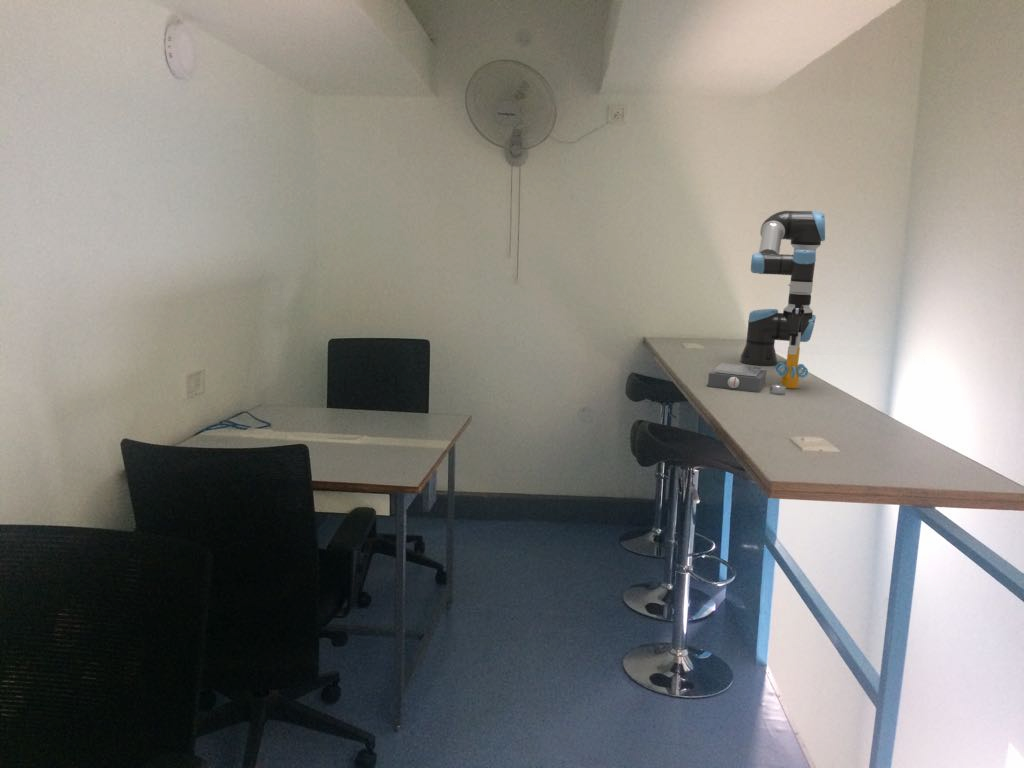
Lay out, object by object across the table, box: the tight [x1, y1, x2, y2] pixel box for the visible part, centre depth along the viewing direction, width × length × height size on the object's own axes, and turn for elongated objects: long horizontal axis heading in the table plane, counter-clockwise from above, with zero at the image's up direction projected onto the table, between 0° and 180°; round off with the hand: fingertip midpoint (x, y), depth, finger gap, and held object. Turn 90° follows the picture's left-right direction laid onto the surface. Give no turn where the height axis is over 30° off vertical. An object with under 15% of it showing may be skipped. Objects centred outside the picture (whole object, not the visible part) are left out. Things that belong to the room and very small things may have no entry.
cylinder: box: [775, 346, 809, 390], centre depth 275 cm, size 12×10×15 cm
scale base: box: [707, 364, 767, 393], centre depth 277 cm, size 19×18×5 cm
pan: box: [713, 362, 763, 377], centre depth 277 cm, size 15×15×5 cm
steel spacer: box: [769, 383, 787, 396], centre depth 265 cm, size 5×5×3 cm
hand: (793, 351), depth 273 cm, fingers open, 13 cm apart
